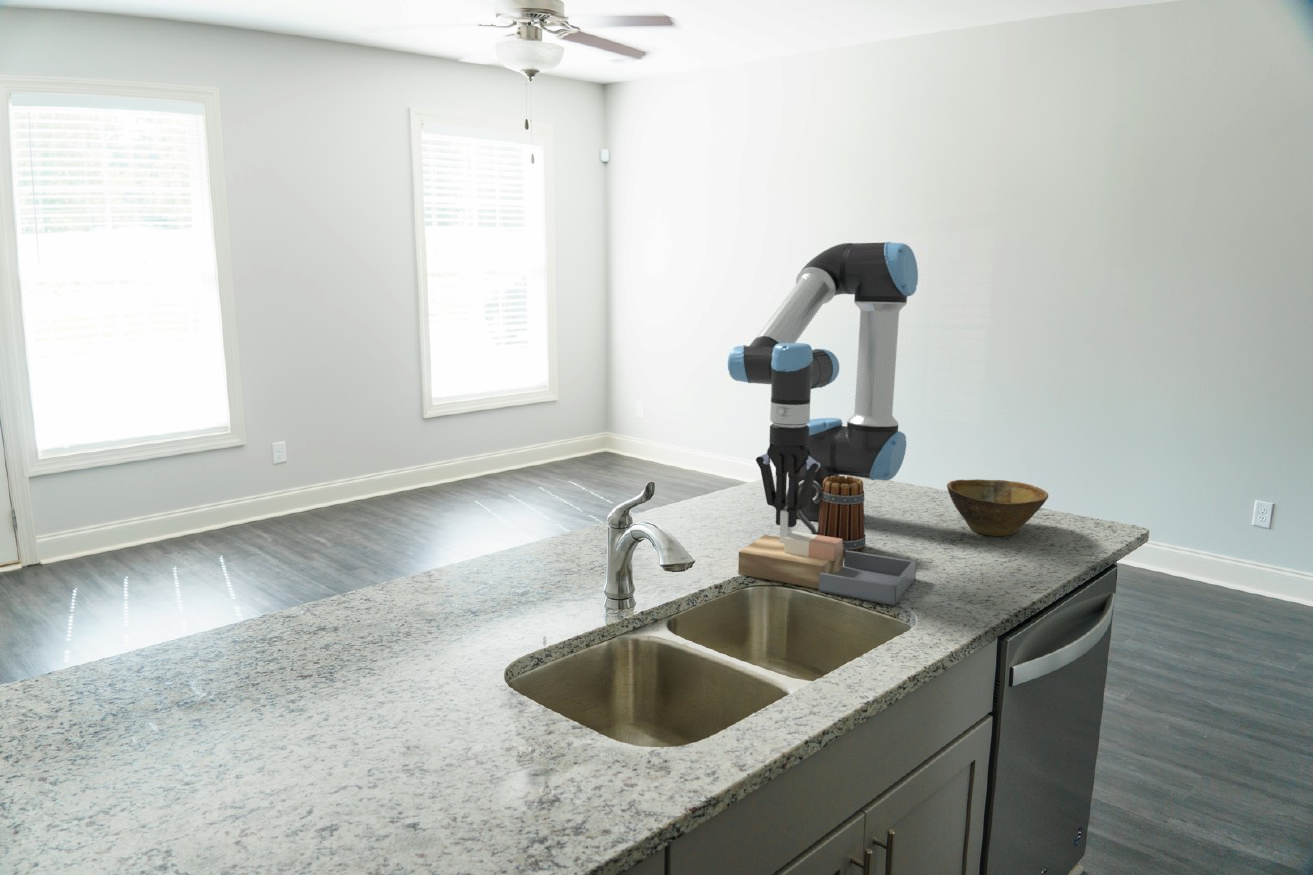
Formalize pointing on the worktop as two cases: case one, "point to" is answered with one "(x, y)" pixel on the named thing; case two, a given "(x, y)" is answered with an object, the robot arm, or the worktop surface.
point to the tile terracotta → (825, 547)
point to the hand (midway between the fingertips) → (785, 541)
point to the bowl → (995, 504)
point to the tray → (870, 578)
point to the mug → (840, 511)
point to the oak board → (784, 563)
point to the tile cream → (798, 543)
